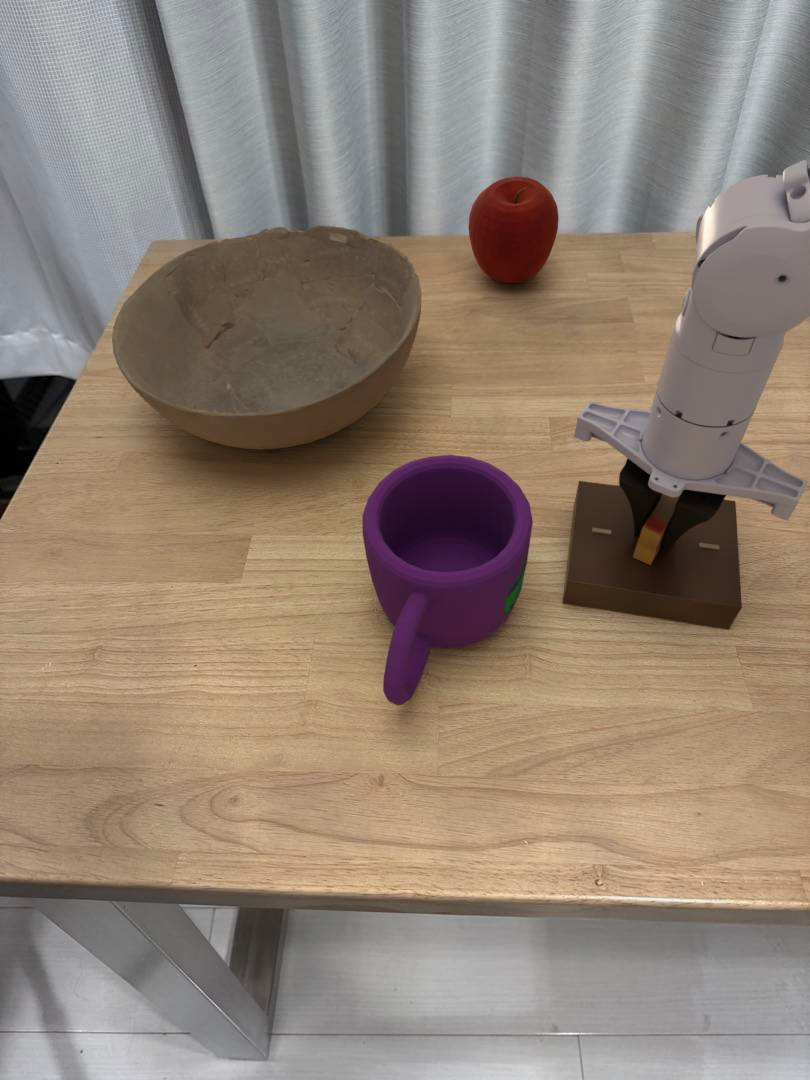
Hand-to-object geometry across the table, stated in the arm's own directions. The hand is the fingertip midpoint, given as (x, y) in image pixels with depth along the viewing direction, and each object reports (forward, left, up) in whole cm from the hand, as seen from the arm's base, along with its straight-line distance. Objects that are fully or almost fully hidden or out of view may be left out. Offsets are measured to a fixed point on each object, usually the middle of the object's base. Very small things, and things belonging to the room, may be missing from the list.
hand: (655, 535), depth 54 cm
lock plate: (0, 0, -3) cm, 3 cm away
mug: (+15, +9, -4) cm, 18 cm away
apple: (+16, -38, -4) cm, 41 cm away
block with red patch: (0, 0, 0) cm, 0 cm away
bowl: (+35, -15, -4) cm, 38 cm away
